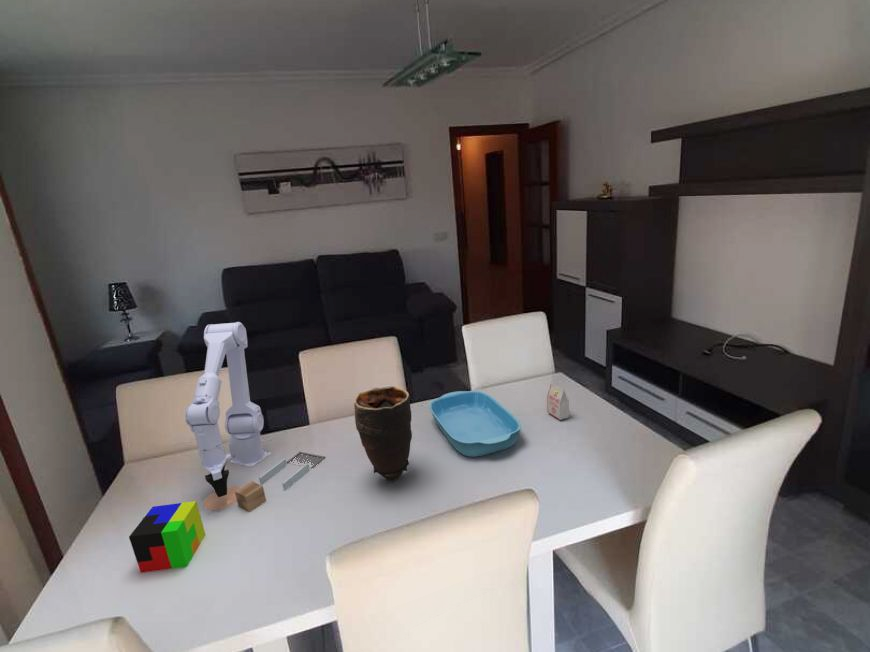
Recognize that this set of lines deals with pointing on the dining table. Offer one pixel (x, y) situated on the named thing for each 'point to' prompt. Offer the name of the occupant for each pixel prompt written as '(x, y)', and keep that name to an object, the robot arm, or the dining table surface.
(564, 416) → the milk carton
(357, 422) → the clay pot
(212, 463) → the robot arm
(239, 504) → the walnut block
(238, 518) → the dining table surface
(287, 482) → the grey parallel rails
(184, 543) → the puzzle toy
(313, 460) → the tray
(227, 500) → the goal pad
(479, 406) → the casserole dish
